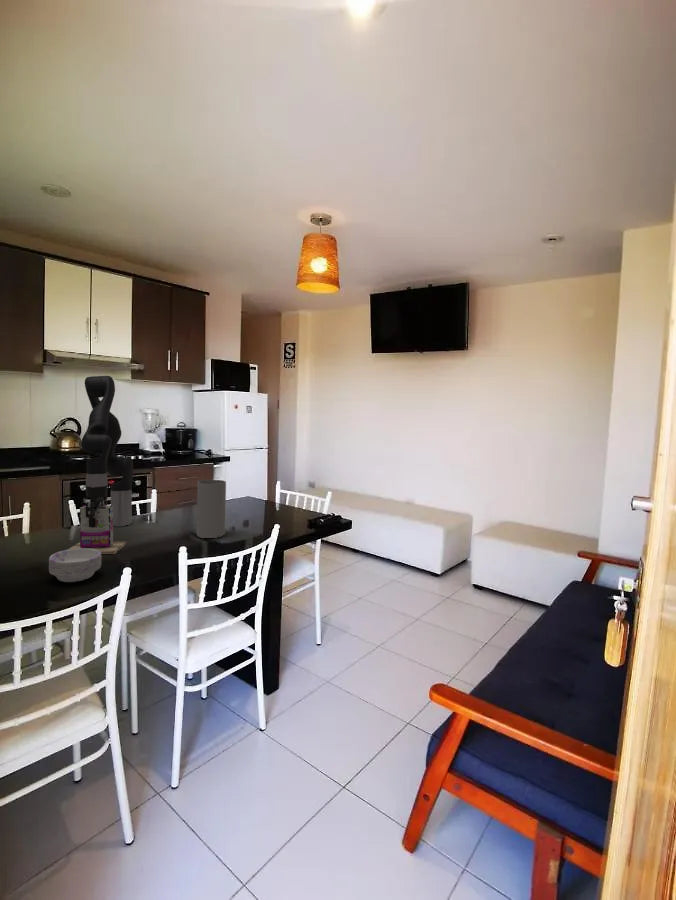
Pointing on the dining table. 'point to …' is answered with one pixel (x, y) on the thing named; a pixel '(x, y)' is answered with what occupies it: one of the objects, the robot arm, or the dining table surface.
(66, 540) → the dining table surface
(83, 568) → the paper bowls
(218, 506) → the cylinder vase
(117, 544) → the birch board
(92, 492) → the robot arm
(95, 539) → the candy bar box
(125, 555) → the dining table surface
